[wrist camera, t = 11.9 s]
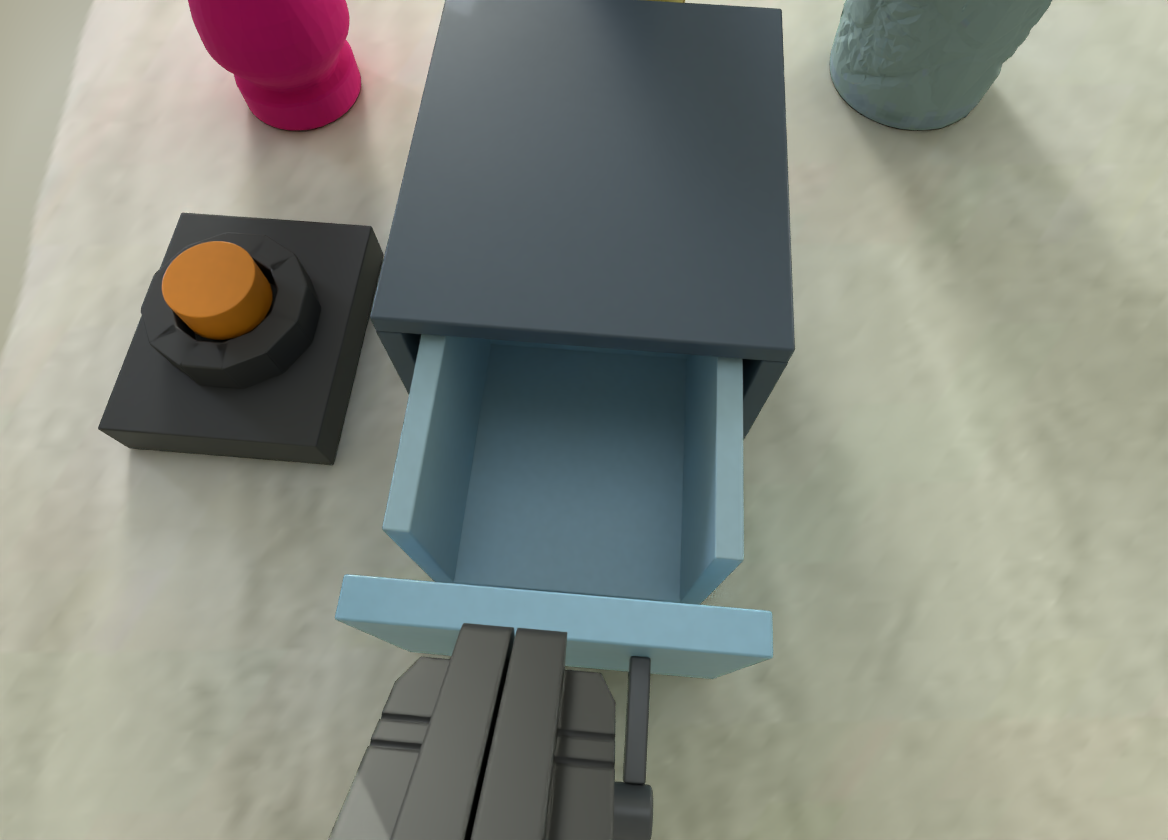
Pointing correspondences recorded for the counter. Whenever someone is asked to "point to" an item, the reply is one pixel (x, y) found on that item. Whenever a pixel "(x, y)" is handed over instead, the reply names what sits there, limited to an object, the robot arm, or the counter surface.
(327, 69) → the pepper mill
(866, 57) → the embossed plant pot
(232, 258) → the button
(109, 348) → the counter surface
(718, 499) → the light blue drawer
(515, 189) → the grey drawer cabinet
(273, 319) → the block
